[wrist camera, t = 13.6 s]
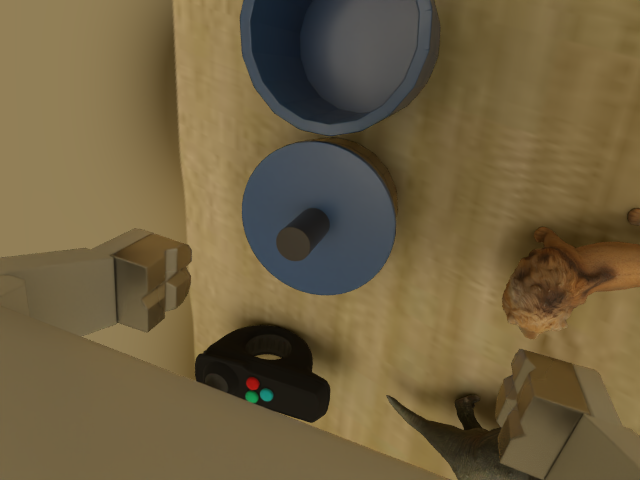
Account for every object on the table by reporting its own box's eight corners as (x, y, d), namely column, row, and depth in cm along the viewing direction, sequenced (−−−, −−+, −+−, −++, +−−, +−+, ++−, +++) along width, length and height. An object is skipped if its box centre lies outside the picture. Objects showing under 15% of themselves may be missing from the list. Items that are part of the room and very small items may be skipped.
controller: (235, 307, 44) (177, 365, 35) (350, 339, 41) (319, 411, 32) (233, 341, 46) (178, 405, 37) (344, 374, 43) (313, 453, 34)
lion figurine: (506, 297, 35) (519, 363, 27) (485, 240, 34) (492, 291, 26) (730, 245, 29) (831, 309, 21) (713, 173, 28) (814, 212, 20)
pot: (304, -51, 31) (248, -97, 23) (460, -32, 28) (459, -75, 20) (284, 106, 35) (231, 114, 27) (418, 134, 33) (404, 153, 25)
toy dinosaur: (386, 376, 41) (361, 472, 31) (437, 316, 37) (427, 404, 27) (586, 510, 40) (627, 656, 30) (660, 462, 36) (736, 611, 26)
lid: (256, 124, 32) (216, 132, 27) (415, 159, 29) (405, 177, 24) (242, 265, 36) (206, 296, 31) (378, 306, 34) (363, 347, 29)
